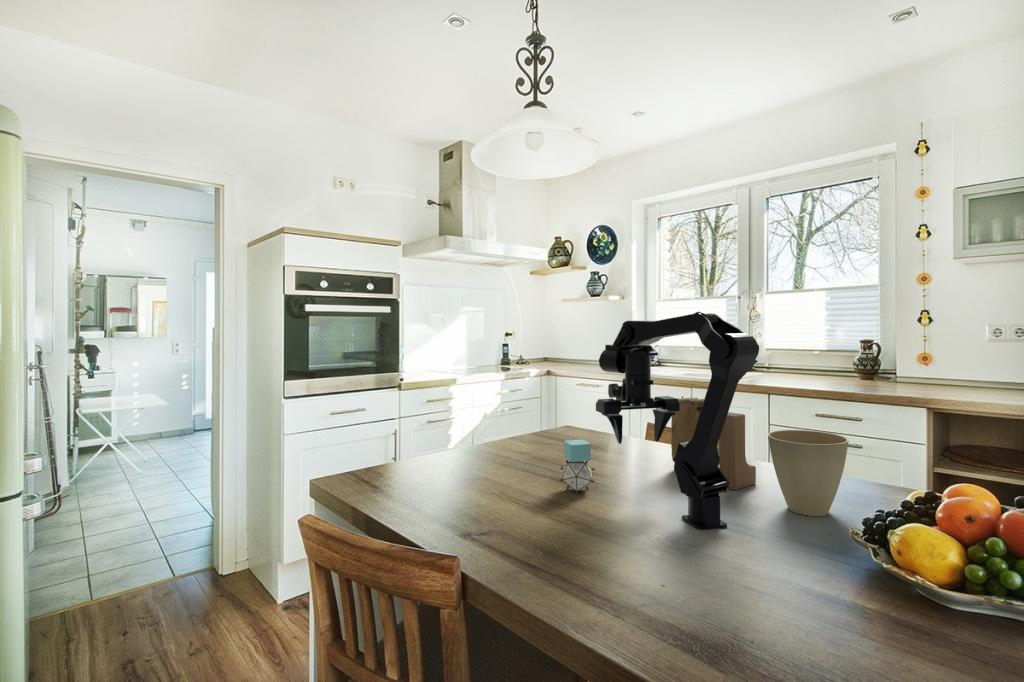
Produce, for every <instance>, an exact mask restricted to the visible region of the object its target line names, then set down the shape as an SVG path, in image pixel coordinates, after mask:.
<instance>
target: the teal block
mask: <svg viewBox="0 0 1024 682" xmlns="http://www.w3.org/2000/svg"><path fill="white" fill-rule="evenodd" d="M563 443H564V444H563V446H564V447H563V448H564V454H563V455H564V458H565V460H568V462H578V461H583V462H586V461H588V462H590V461H591V460H592V458H591V457H592V453H591V452H592V448H591V447H592V446H591V445H592V444H591V443H590V442H588V441H587V440H585V439H572V440H571V439H570V440H568V439H567V440H564V441H563Z"/></svg>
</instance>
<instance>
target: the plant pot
mask: <svg viewBox="0 0 1024 682" xmlns="http://www.w3.org/2000/svg"><path fill="white" fill-rule="evenodd" d="M767 438H768V443H769V444H768V445H769V451H770V456H771V459H772V464H773V468H774V471H775V475H776V479H777V482H778V485H779V488H780V491H781V493H782V495H783V499H784V502H785V504H786V505H787V508H788V510H789V511H791V512H793V513H795V514H798V513H799V515H801V514H803V515H802V516H806V515H808V517H824V516H827V515H828V514H829V513H830V510H831V508H832V505H833V503H834V500H835V498H836V495H837V493H838V490H839V487H840V484H841V480H842V477H843V473H844V470H845V464H846V459H847V453H848V448H849V439H848V437H845V436H843V435H840V434H836V433H831V432H825V431H818V430H807V429H806V430H804V429H803V430H802V429H782V430H781V429H780V430H773V431H770V432H768V433H767Z"/></svg>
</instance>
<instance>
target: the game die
mask: <svg viewBox="0 0 1024 682" xmlns="http://www.w3.org/2000/svg"><path fill="white" fill-rule="evenodd" d="M565 463H566V464H565V465H564V467H560V470H562V476H561V478H560V479H559V480H558V481H559V482H563V483H564V484H566V489H567V490H568V489H572V490H573V491H575V494H576V496H578V494H579V491H581V490H584V489H586V490H589V487H588V486H589V485H590V484H591V483H593V484H594V483H595V480H593V471H595V467H594V468H593V467H590V465H588V463H589V461H578V462H570V461H569V460H568V459H565Z"/></svg>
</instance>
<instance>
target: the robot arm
mask: <svg viewBox="0 0 1024 682" xmlns="http://www.w3.org/2000/svg"><path fill="white" fill-rule="evenodd" d="M695 333H696V335H698V337H699V341H700V342H701V344H702V345H703V346H704V347H705V348H706V349H707V350H708V351H709V357H708V363H709V367H710V368H709V369H710V372H711V377H710V380H709V383H708V387H707V390H706V393H705V397H704V398H703V399H704V402H703V405H702V408H701V411H700V414H699V418H698V421H697V424H696V427H695V430H694V433H693V437H692V439H691V440H690V442H685V443H680V444H679V445H678V447H677V452H676V456H675V458H674V459H672V462H673V463H674V461H675V463H674V464H673V471H674V473H675V476H676V479H677V483H678V487H679V490H680V493H681V494H683V495H685V496H686V497H687V502H688V503H687V504H688V511H687V512H688V514H683V515H682V516H681V519H683V520H684V521H685V522H686V523H688V524H690V525H691V526H693V527H694V528H696V529H698V530H706V529H707V530H708V529H717V528H725V527H728V523H727V522H726V521H724V520H721V496H720V494H721V493H723V492H724V493H725V492H728V490H729V488H728V487H729V484H730V483H729V481H728V480H727V478H726V477H725V475H724V474H723V473H722V471H721V470H720V469H719V461H720V457H719V448H718V445H719V438H720V435H721V432H722V429H723V426H724V423H725V420H726V417H727V414H728V412H729V410H730V407H731V405H732V402H733V399H734V397H735V393H736V389H737V387H738V385H739V382H740V381H741V380H742V378H743V377H744V376H745V375H746V374H747V373H748V372H749V371H750V370H751V369H752V366H753V364H754V363H755V361H756V359H757V358H758V355H759V352H760V345H759V344H758V342H757V339H755V337H754V336H753V335H751V334H749V333H745V332H744V331H743V330H741V329H740V328H738V327H737V326H735V325H734V324H732V323H729V322H728V321H726V320H724V319H723V318H722V317H721V316H720V315H718V314H717V313H715V312H713V311H696V312H694V313H691V314H684V315H680V316H674V317H669V318H665V319H659V320H626V321H624V322H622V325H621V328H620V330H619V332H618V334H617V335H616V337H615V340H614V341H613V343H612V344H605V349H604V350H602V352H601V353H600V355H599V358H598V364H599V367H600V369H601V370H602V371H604V372H606V373H613V374H614V373H616V374H624V378H622V384H621V385H619V384H618V383H609V384H608V387H607V389H608V390H607V393H608V398H598V399H597V400H596V403H595V411H596V412H598V413H599V414H601V415H602V416H604V417H606V418H607V419H608V421H609V422H610V425H611V428H612V430H613V433H614V436H615V439H616V440H617V441H616V442H617V443H618V444H620V445H621V444H622V443H623V442H622V441H623V418H624V417H623V415H622V414H620V413H621V412H622V411H624V410H628V411H629V410H644V409H645V410H646V409H647V410H648V409H652V413H653V416H654V424H653V426H654V428H653V432H654V433H653V437H654V441H655V442H659V441H660V439H661V437H662V435H663V433H664V431H665V428H666V426H667V425H668V423H669V421H670V419H672V415H675V412H672V411H681V403H680V401H679V400H678V399H679V398H677V397H674V396H669V395H666V396H665V395H661V396H655V397H654V398H653V397H651V396H652V394H651V392H652V390H651V389H652V387H651V386H653V385H654V380H653V379H651V378H652V377H651V375H652V373H651V370H652V369H651V357H653V356H654V357H655V356H659V352H658V351H656V349H654V348H653V345H651V344H655V343H657V342H659V341H660V340H662V339H664V338H669V337H670V338H671V337H676V336H682V335H688V334H695ZM614 398H615V399H614ZM703 482H705V483H703Z"/></svg>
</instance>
